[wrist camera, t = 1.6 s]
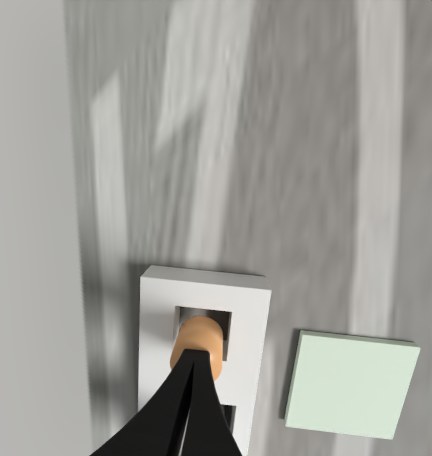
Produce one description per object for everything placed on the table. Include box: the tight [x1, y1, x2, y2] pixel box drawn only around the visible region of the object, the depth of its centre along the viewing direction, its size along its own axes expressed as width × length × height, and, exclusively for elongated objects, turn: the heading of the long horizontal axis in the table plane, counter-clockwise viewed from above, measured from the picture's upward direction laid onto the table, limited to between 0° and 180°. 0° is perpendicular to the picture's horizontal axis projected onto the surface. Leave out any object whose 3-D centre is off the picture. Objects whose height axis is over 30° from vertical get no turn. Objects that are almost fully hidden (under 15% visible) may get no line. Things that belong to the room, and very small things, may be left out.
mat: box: [284, 330, 421, 439], centre depth 17 cm, size 8×8×1 cm
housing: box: [138, 265, 271, 456], centre depth 17 cm, size 16×8×2 cm, turn 175°
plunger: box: [170, 316, 223, 381], centre depth 13 cm, size 3×3×2 cm
